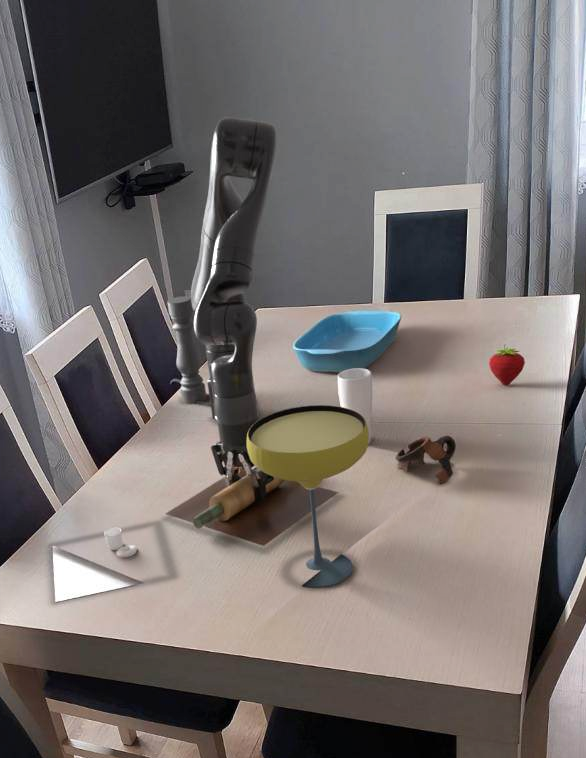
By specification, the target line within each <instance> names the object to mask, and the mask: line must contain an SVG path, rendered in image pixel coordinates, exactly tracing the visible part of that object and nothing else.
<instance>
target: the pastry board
mask: <svg viewBox="0 0 586 758" xmlns="http://www.w3.org/2000/svg"><path fill="white" fill-rule="evenodd" d="M246 475H247V473H246V471H245V469H244V468H242V467H241V468H240V473H239V475H238V476H240V477H241V478H243V477H244V476H246ZM229 486H230V485H229V480H228V479H227V478H226V476H225V475H224V477H222V478H221V479H219V480H217V481H216V482H214V483H212V484H211V485H209V486H208V487H206V488H204V489H202V490H201V491H200V492H198V493H196V494H195V495H193V496H191V497H190V498H188V499H187V500H185V501H183V502H181V503H180V504H179V505H177V506H175V507H174V508H172V509H170V510H168V511H167V512H165V515H167V516H170V517H173V518H176V519H179V520H183V521H185V522H189V523H191V524H193V518H194V517H196V516H197V515H199V514H201V513H202V512H204V511H205V510H207V509H208V508H210V506H209V501H210V499H211V497H213V496H214V495H216V494H217V493H219V492H221V491H222V490H224V489H225V488H227V487H229ZM338 493H339V491H335V490H332V489H329V488H328V489H327V488H325V487H320V486H318V487H317V488H316V489H314V499H315V510H316V509H317V508H319V507H320V506H321V505H323V504H324V503H326V502H327V501H329V500H330V499H331V498H333V497H334V496H335V495H336V494H338ZM310 513H312V509H311V498H310V490H308V489H306V488H304V487H303V486H302V485H301V484H300V483H299V482H296V481H289V480H284V482H283V483H282V484H281V485H279V486H278V487H276V488H275V489H273V490H272V491H270V492H269V493H267V498H266V500H265V501H264V502H263V503H261V504H256V503H255V502H254V503H252V504H251V505H249V506H248V507H246V508H245V509H243V510H242V511H240V512H239V513H237V514H236V515H234V516H233V517H231V518H230V519H228V520H226V521H221V520H219V519H217V518H215V519H214V520H212V521H211V522H209V523H208V524H206V525H205V526H203V528H207V529H210V530H213V531H215V532H219V533H220V532H221V533H223V534H225V535H229V536H232V537H235V538H238V539H241V540H245V541H248V542H250V543H253V544H256V545H259V546H262V547H264V546H266V545H267V544H268V543H270V542H271V541H272V540H274V539H275V538H277V537H278V536H280V535H281V534H282V533H284V532H285V531H286V530H288V529H289V528H291V527H292V526H293V525H295V524H296V523H298V522H299V521H300V520H302V519H303V518H304V517H306V516H308V515H309V514H310Z"/></svg>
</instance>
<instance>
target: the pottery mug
mask: <svg viewBox="0 0 586 758" xmlns="http://www.w3.org/2000/svg"><path fill="white" fill-rule="evenodd" d="M445 445H446V450H445ZM406 448H407V451H406V452H405V449H404V448H402V449H401V450H399V452H397V454H396V455H395V460H396V461H397V469H398V470H404V471H405V472H407V473H409V472H410V465H411V464H413V465H417V466H425V465H426V462H425V455H426V454H427V455H428V456H429V459H431V460H432V461H435V462H438V463H439V464H440V466H441V469H440V470H439V471H438V472H437V473H436V474H435V478H436V479H437V480H438V483H439V485H442V484H444V483H445V482H447V481H448V480H449V479H450V478H451V477H452V476H453V474H454V472H453V468H452V465H451V463H452V462H451V459H452V458H453V456H454V454H455V453H456V449H457V444H456V441H455V439H454V438H453V437H452V436H451V435H444V436H441V437H439V438H438V439H436V440H434V441H433V440H432V439H431V438H430V436H428V435H427V436H421V437H420V438H418V439H416V440H413V441H412V442H411V443H409V444H408V445H407V446H406Z"/></svg>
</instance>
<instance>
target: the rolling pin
mask: <svg viewBox="0 0 586 758" xmlns="http://www.w3.org/2000/svg"><path fill="white" fill-rule="evenodd" d="M256 475H257V478H258V479H259V476H258V474H256ZM283 482H284V480H283V479H279V478H276V477H274V480H273V481H271V482H270V483H268V484H267V485H266V493H269V492H270V491H272V490H273V489H275V488H276V487H278V486H279V485H281V484H282V483H283ZM253 486H254V485H253V482H252V480H251V478H250V476H248V475H246V476H244V477H243V478H241V479H240V480H238V481H236V482H235V483H233V484H232V485H230V486H229V487H227V488H225V489H224V490H222V491H221V492H219V493H217V494H216V495H214V496H213V497H211V499H210V501H209V506H210V508H208V509H207V510H205V511H204V512H202V513H201V514H199V515H197V516H196V517H194V518H193V523H192V524H193V526H194V527H195V528H196V529H202V528H204V526H205V525H206V524H208V523H209V522H211V521H212V520H214V519H215V518H217V519H219V520H221V521H226V520H228V519H230V518H231V517H233V516H234V515H236V514H237V513H239V512H240V511H242V510H243V509H245V508H246V507H248V506H249V505H251V504H252V503H254V502H255V496H254V488H253Z"/></svg>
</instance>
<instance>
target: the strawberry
mask: <svg viewBox="0 0 586 758" xmlns="http://www.w3.org/2000/svg"><path fill="white" fill-rule="evenodd" d="M503 348H504V349H495V350H494V352H498V353H495V354H493V355H492V356H491V357H490V358H489V362H488V365H489V368H490V371H491V372H492V375H493V376H494V377H495V378H496V379H497V380H498V381H499V382H500V383H501V384H502V385H503V386H505V387H508V386H509V385H511V383H512V382H514V381H515V379H517V378H518V377H519V375H520V374H521V373H522V371H523V369H524V367H525V364H526V361H525V357H524V356H523V355H522V354H520V353H519V352H520V350H516V348H510V349H509V347H506V345H504V347H503Z"/></svg>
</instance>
